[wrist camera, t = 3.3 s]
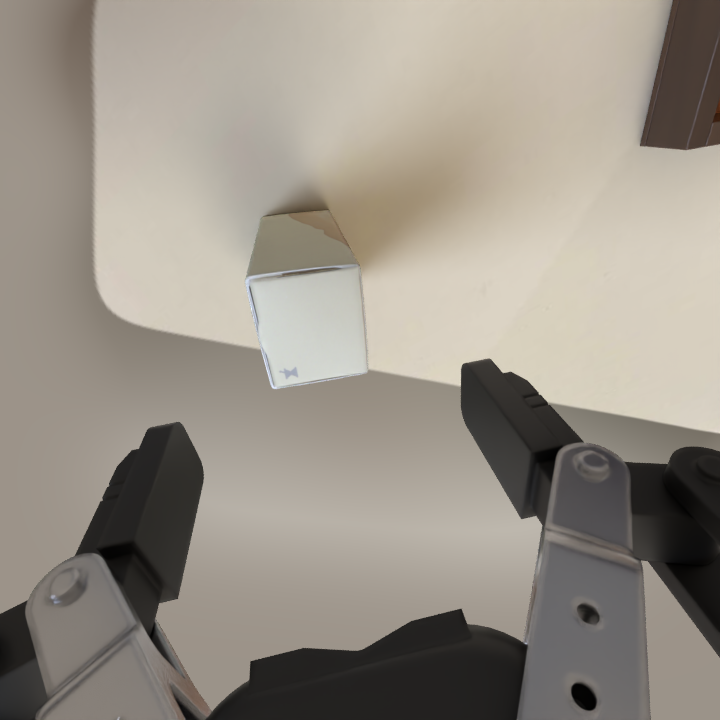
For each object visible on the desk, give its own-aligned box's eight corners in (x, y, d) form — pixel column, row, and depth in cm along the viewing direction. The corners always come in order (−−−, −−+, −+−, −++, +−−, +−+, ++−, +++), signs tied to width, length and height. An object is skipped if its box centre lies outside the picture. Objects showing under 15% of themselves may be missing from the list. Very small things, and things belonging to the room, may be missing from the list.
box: (338, 287, 26) (371, 381, 17) (273, 295, 26) (270, 397, 17) (329, 203, 23) (362, 262, 14) (256, 212, 23) (241, 278, 14)
